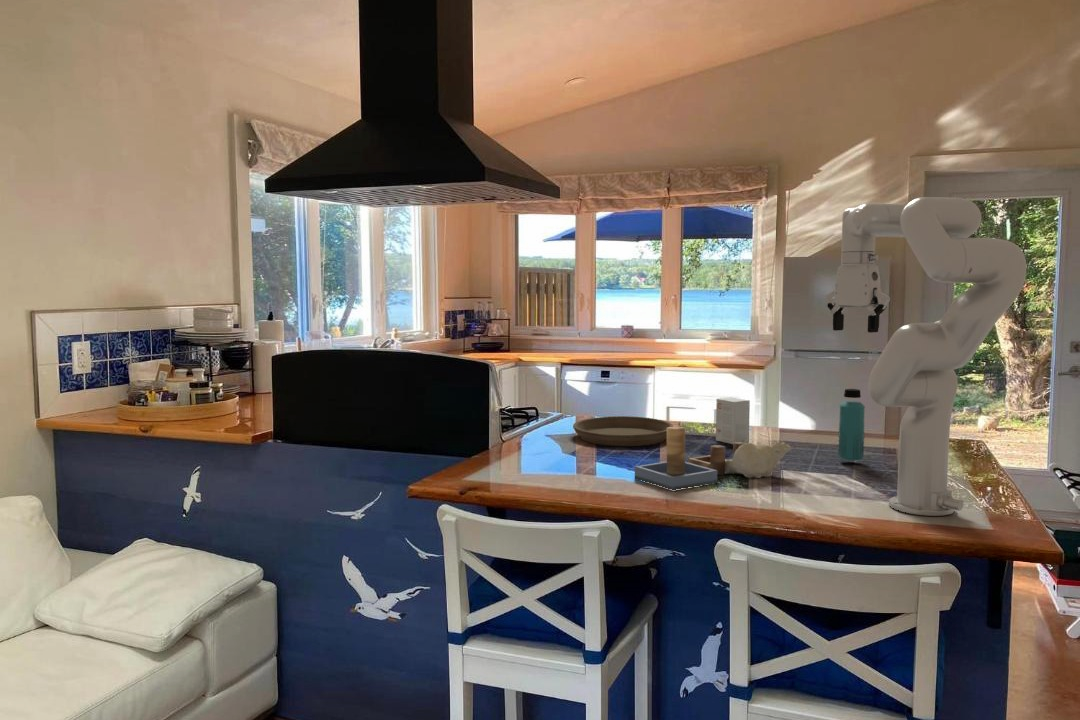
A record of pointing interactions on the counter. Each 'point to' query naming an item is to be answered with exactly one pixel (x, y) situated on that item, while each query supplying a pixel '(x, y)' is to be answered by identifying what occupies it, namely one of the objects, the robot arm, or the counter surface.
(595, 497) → the counter surface
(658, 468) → the tray
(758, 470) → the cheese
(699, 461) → the dowel socket
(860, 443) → the beverage bottle
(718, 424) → the small box
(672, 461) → the dowel
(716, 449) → the peg
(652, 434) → the plant saucer
